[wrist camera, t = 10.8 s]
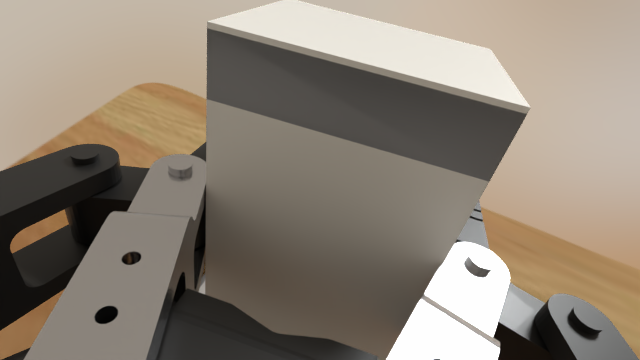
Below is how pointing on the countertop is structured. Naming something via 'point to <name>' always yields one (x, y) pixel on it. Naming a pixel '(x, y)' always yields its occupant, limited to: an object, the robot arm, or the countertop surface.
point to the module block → (343, 165)
